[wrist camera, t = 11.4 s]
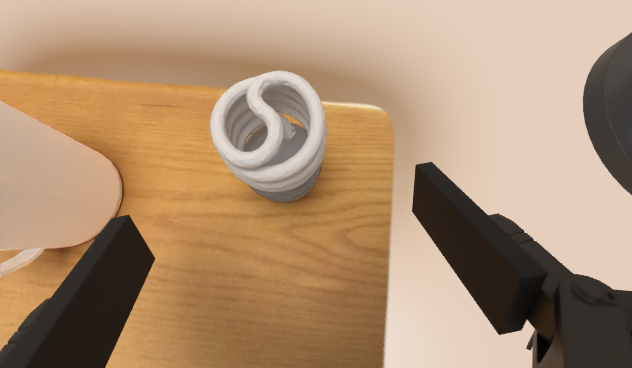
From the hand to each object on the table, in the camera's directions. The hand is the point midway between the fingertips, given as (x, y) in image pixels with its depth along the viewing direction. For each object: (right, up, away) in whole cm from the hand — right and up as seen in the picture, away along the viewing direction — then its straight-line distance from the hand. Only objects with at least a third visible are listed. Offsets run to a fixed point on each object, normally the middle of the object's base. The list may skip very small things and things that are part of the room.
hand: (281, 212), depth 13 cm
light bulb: (-1, +2, +10) cm, 11 cm away
